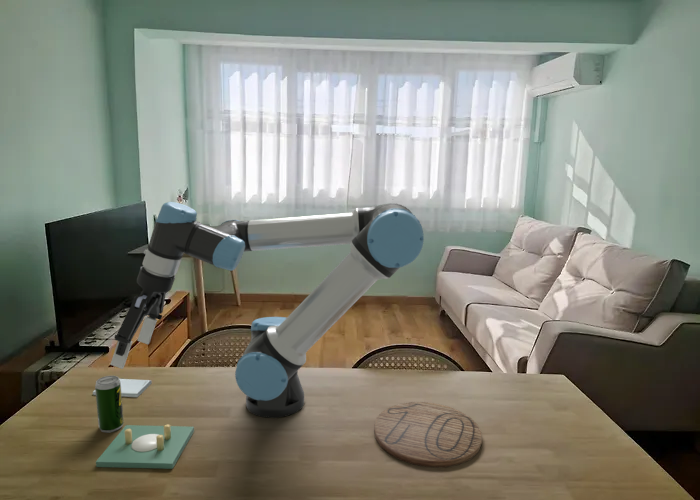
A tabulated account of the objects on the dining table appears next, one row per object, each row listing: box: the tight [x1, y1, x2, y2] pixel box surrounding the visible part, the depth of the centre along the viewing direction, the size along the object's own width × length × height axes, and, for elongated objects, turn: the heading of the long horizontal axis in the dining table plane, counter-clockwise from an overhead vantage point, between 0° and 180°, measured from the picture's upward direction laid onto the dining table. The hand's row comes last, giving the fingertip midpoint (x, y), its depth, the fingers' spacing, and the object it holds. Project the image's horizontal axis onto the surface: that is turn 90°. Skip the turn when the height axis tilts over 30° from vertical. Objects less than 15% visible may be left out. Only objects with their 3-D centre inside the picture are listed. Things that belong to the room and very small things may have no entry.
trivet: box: [374, 401, 483, 468], centre depth 118 cm, size 25×25×2 cm
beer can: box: [94, 375, 125, 434], centre depth 117 cm, size 5×5×12 cm
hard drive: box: [92, 378, 153, 398], centre depth 137 cm, size 2×8×12 cm
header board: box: [95, 424, 195, 470], centre depth 110 cm, size 16×14×4 cm
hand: (130, 353), depth 115 cm, fingers open, 13 cm apart
